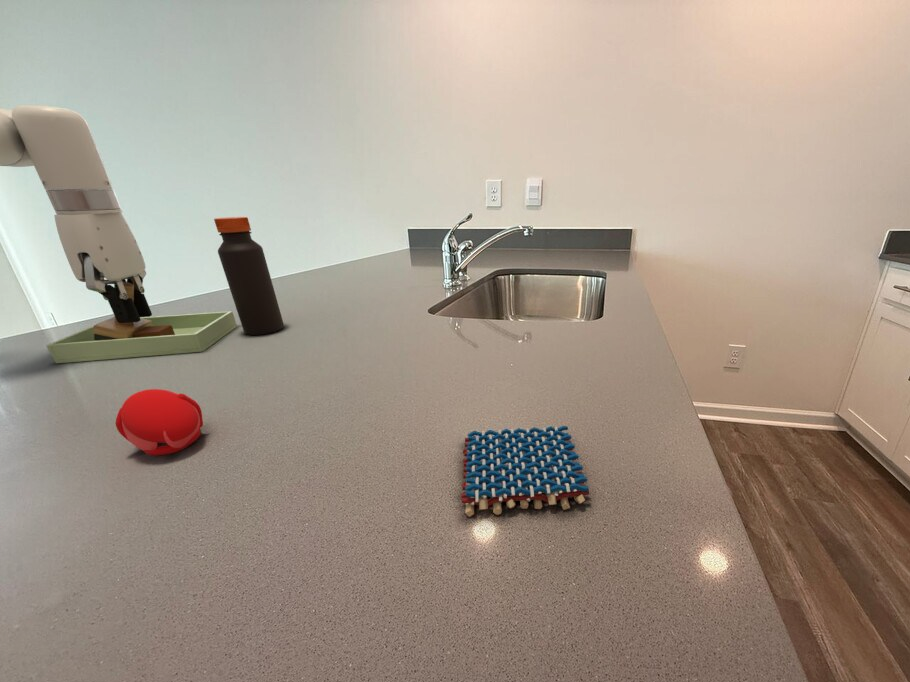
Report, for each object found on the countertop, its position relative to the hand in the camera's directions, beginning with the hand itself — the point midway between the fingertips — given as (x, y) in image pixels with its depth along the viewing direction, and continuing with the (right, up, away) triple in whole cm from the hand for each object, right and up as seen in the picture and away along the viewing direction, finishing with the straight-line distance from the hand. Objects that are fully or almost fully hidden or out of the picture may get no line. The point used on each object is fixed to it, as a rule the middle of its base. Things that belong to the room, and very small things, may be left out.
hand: (135, 318), depth 70 cm
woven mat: (+66, -20, -33) cm, 76 cm away
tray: (+2, -4, +2) cm, 5 cm away
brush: (-3, -3, +1) cm, 4 cm away
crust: (+2, -3, +2) cm, 4 cm away
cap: (+29, -18, -27) cm, 44 cm away
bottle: (+18, -1, +8) cm, 19 cm away
